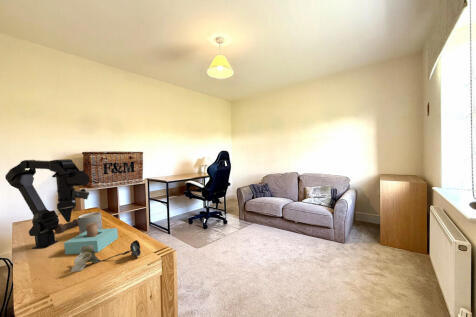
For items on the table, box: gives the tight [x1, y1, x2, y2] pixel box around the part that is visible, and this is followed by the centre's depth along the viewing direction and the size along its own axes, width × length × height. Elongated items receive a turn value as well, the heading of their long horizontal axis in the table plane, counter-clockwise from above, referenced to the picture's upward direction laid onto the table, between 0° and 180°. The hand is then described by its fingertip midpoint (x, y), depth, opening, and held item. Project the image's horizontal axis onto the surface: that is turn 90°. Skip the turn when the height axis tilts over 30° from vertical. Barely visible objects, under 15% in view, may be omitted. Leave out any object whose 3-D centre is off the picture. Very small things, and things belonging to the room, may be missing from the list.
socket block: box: [63, 227, 119, 255], centre depth 92 cm, size 14×14×5 cm
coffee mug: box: [77, 211, 103, 235], centre depth 109 cm, size 13×10×10 cm
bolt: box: [53, 218, 79, 234], centre depth 119 cm, size 6×5×15 cm
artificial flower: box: [70, 239, 142, 273], centre depth 76 cm, size 9×22×10 cm, turn 99°
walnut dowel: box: [86, 222, 98, 237], centre depth 92 cm, size 4×4×10 cm
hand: (68, 219), depth 94 cm, fingers open, 9 cm apart
